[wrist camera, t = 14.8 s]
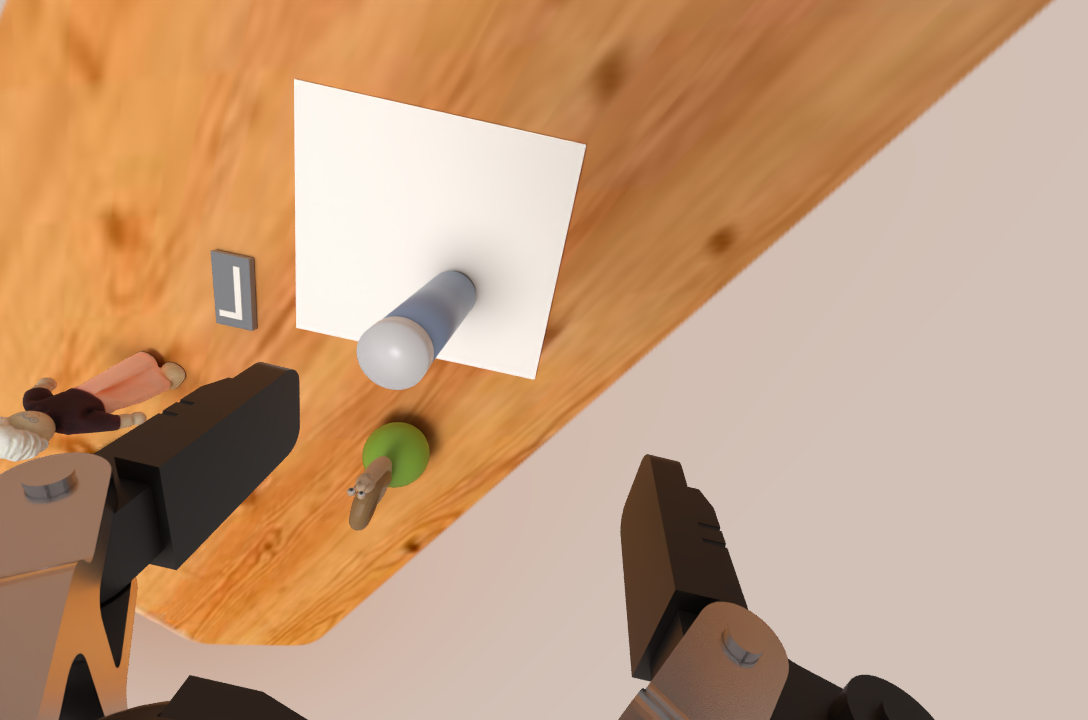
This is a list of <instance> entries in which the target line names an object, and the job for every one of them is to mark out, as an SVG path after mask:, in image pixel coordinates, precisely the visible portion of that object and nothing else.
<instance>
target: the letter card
mask: <svg viewBox="0 0 1088 720" xmlns="http://www.w3.org/2000/svg"><path fill="white" fill-rule="evenodd" d="M211 261H212V273H213V286H214V298H215V310H216V322H217V323H219V324H223V325H228V326H233V327H237V328H242V329H246V330H251V331H253V330H255V329H257V314H256V292H255V269H254V258H253V257H248V256H244V255H239V254H234V253H230V252H225V251H221V250H212V251H211Z"/></svg>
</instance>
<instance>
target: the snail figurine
mask: <svg viewBox="0 0 1088 720" xmlns="http://www.w3.org/2000/svg"><path fill="white" fill-rule="evenodd" d="M429 456H430V450H429V445H428V442H427V439H426V437H425V436H424V434H423V433H422V432H421V431H420V430H419V429H418V428H416V427H414V426H413V425H410V424H407V423H403V422H393V423H388V424H385V425H383V426H381V427H379V428H378V429H376V430H375V431H374V432H373V433H372V434H371V435H370V436H369V438H368V439H367V441H366V443H365V445H364V449H363V455H362V459H363V465H364V468H365V471H364V473H363V474H361V475H360V476H359V477H358V478H357V480H356V483H355V486H354V488H349V489H348V490H347V494H348V495H349V496H354V495H355V494H356V495H355V498H354V500H353V503H352V506H351V511H350V517H349V524H350V526H351V528H352V529H354V530H362V529H364V528H365V527H366V526H367V525H368V523H369V522H370V520H371V518H372V516H373V514H374V511H375V509H376V506H377V504H378V503H379V502H380V500H381V499H382V497H383V495H384V494H385V492H386V490H387V487H392V488H396V487H403V486H406V485H408V484H410V483H412V482H414V481H415V480H417V479H418V478H419V477H420V476H421V475H422V473H423V472H424V471H425V469H426V467H427V464H428V461H429ZM355 487H356V489H357V493H356V489H355Z"/></svg>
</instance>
